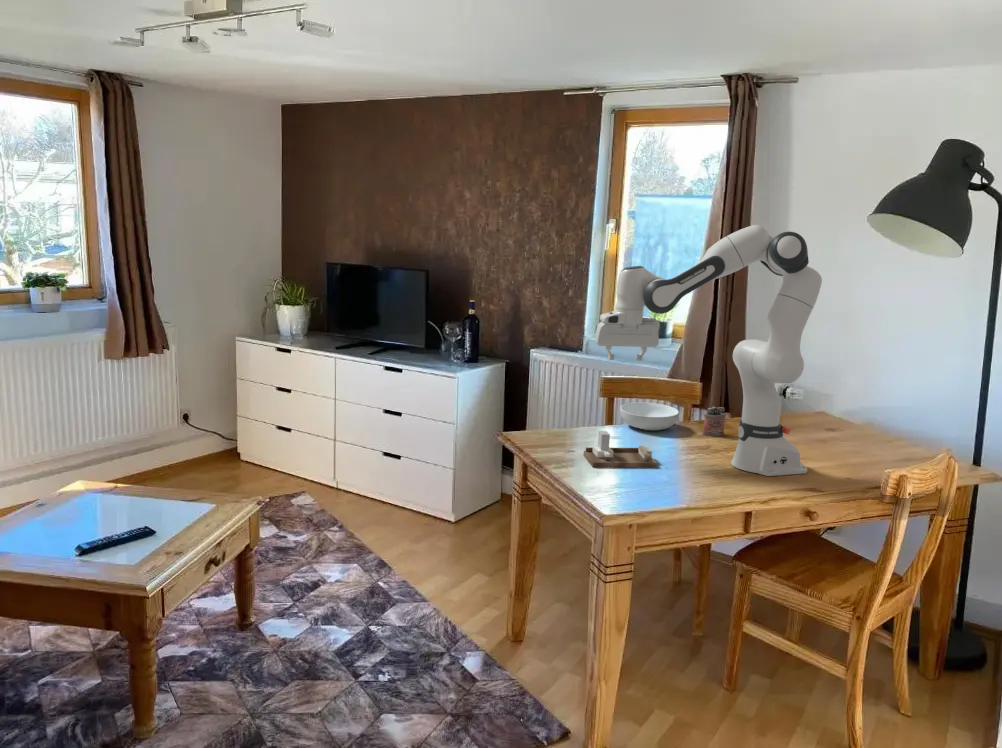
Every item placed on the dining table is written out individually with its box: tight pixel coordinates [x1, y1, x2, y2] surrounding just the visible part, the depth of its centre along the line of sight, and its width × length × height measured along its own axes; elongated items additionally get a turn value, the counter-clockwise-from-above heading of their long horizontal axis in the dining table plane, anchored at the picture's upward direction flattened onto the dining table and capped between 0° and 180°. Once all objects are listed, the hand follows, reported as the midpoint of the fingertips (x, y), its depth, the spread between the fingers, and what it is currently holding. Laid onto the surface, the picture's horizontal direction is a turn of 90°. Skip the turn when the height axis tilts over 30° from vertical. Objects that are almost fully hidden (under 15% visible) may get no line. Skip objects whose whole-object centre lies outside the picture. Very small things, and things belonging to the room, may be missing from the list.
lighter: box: [701, 406, 727, 437], centre depth 283 cm, size 8×3×10 cm, turn 104°
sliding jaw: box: [592, 430, 614, 460], centre depth 246 cm, size 5×9×7 cm, turn 8°
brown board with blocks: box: [582, 445, 658, 469], centre depth 248 cm, size 20×12×4 cm, turn 98°
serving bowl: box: [619, 401, 680, 432], centre depth 289 cm, size 21×21×7 cm
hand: (625, 360), depth 257 cm, fingers open, 8 cm apart
